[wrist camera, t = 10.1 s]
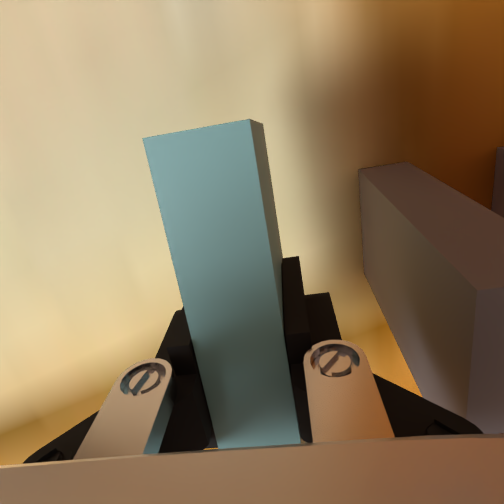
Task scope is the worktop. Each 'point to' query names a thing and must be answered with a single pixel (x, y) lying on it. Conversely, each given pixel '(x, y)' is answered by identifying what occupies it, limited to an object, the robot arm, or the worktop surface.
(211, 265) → the domino
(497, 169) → the domino
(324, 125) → the worktop surface
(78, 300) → the worktop surface
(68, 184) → the worktop surface
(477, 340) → the domino
